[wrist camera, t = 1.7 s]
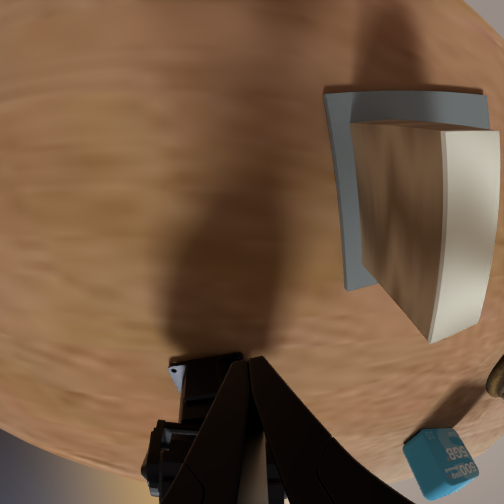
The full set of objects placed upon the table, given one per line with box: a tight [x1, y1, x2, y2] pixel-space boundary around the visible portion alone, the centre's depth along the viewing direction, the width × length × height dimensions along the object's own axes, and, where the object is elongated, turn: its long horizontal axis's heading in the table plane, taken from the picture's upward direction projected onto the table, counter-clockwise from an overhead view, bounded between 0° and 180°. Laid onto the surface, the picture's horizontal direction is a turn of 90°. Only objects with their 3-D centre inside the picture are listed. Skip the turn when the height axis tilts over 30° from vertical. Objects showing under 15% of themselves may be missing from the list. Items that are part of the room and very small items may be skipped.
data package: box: [403, 428, 479, 501], centre depth 32 cm, size 12×4×12 cm, turn 63°
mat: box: [323, 91, 490, 291], centre depth 20 cm, size 14×15×1 cm
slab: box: [349, 119, 500, 344], centre depth 15 cm, size 10×4×9 cm, turn 11°
